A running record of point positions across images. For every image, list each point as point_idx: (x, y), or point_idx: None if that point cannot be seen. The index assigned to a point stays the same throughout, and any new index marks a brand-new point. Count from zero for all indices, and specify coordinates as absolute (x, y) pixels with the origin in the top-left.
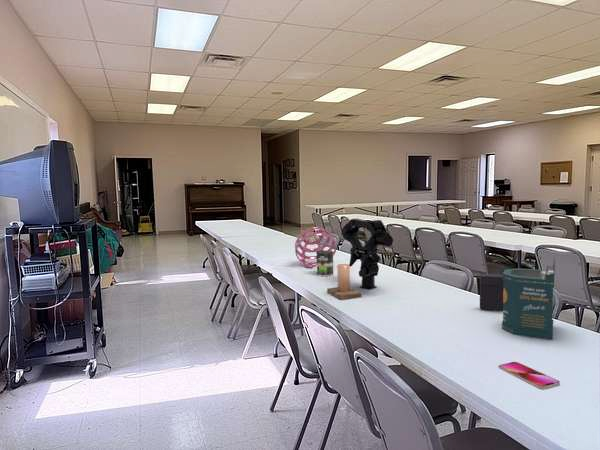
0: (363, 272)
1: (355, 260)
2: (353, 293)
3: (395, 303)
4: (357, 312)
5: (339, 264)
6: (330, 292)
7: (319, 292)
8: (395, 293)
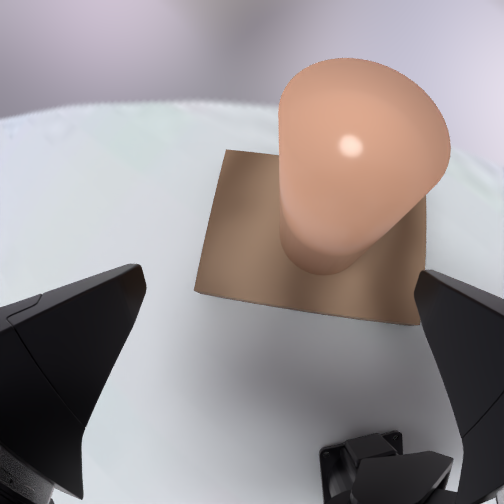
0: (385, 476)
1: (461, 405)
2: (223, 243)
3: None
4: (59, 140)
5: (432, 111)
6: None
7: None
8: (151, 495)
